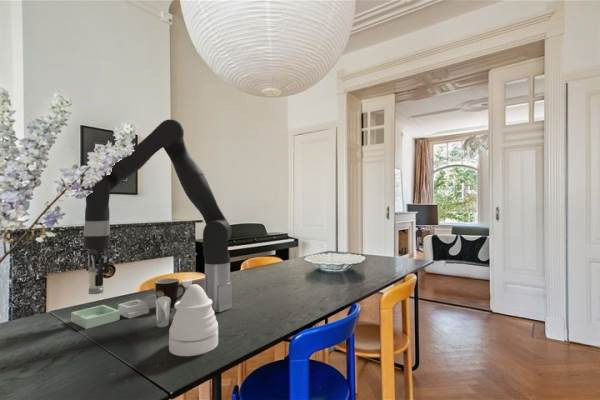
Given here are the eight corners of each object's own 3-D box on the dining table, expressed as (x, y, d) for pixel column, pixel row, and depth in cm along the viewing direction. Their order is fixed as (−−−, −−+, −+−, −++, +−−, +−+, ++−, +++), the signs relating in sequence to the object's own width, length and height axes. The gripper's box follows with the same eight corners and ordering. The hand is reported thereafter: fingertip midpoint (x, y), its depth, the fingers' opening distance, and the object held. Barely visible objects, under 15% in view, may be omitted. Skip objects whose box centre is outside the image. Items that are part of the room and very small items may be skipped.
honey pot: (169, 360, 78) (169, 287, 78) (168, 340, 90) (169, 277, 90) (221, 350, 83) (222, 282, 84) (214, 333, 95) (214, 273, 95)
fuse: (105, 292, 107) (106, 265, 107) (91, 295, 103) (92, 267, 104) (100, 290, 109) (100, 264, 109) (86, 293, 106) (86, 266, 106)
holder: (149, 312, 113) (149, 303, 114) (129, 318, 108) (129, 308, 108) (136, 308, 119) (136, 299, 119) (116, 313, 113) (116, 303, 113)
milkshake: (152, 324, 102) (152, 293, 102) (170, 322, 104) (170, 291, 104) (152, 329, 98) (152, 297, 98) (170, 326, 100) (170, 295, 100)
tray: (119, 319, 106) (119, 310, 107) (86, 329, 98) (86, 319, 98) (103, 313, 113) (103, 304, 113) (71, 321, 105) (71, 312, 105)
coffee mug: (150, 307, 120) (151, 281, 120) (172, 302, 126) (173, 277, 127) (164, 314, 112) (164, 285, 112) (186, 308, 118) (187, 281, 119)
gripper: (118, 234, 106) (117, 285, 105) (99, 232, 114) (99, 280, 113) (93, 236, 100) (92, 290, 99) (75, 234, 108) (74, 284, 107)
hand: (96, 284), depth 106 cm, fingers closed on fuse, 3 cm apart
